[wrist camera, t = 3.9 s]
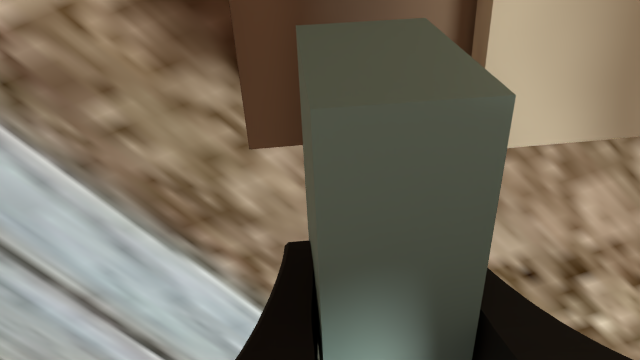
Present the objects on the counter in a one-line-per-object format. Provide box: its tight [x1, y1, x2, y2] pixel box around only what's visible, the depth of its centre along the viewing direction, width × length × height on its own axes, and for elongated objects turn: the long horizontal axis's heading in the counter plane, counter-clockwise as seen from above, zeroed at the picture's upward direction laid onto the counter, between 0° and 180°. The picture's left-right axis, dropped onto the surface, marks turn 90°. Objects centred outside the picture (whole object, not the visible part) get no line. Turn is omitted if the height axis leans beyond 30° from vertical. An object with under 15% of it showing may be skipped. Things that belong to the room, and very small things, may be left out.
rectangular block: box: [296, 18, 516, 360], centre depth 12 cm, size 3×12×5 cm, turn 2°
